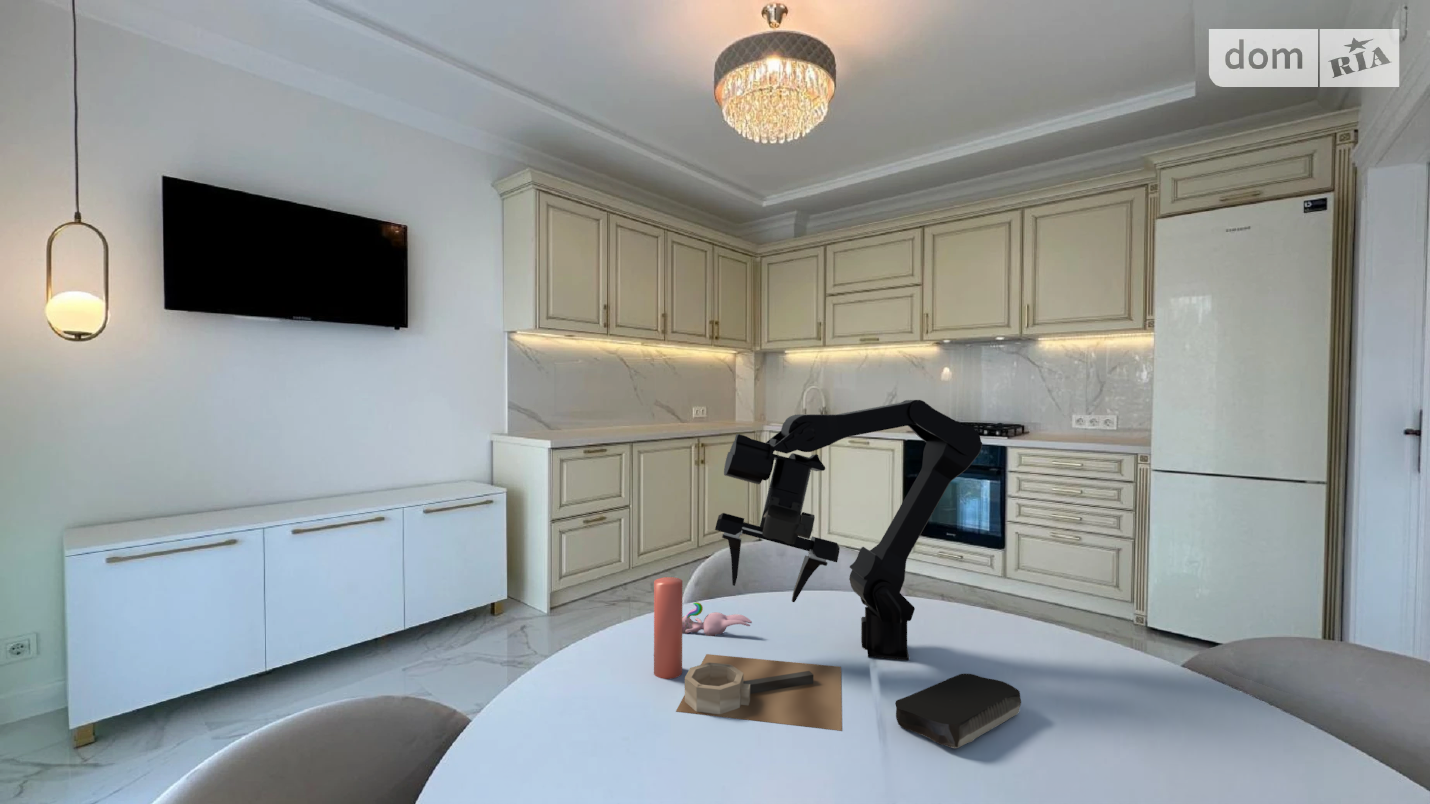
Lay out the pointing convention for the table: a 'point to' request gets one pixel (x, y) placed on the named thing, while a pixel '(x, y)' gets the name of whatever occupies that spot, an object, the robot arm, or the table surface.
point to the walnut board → (765, 691)
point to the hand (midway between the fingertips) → (763, 593)
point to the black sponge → (958, 709)
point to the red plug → (667, 627)
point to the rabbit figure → (711, 622)
